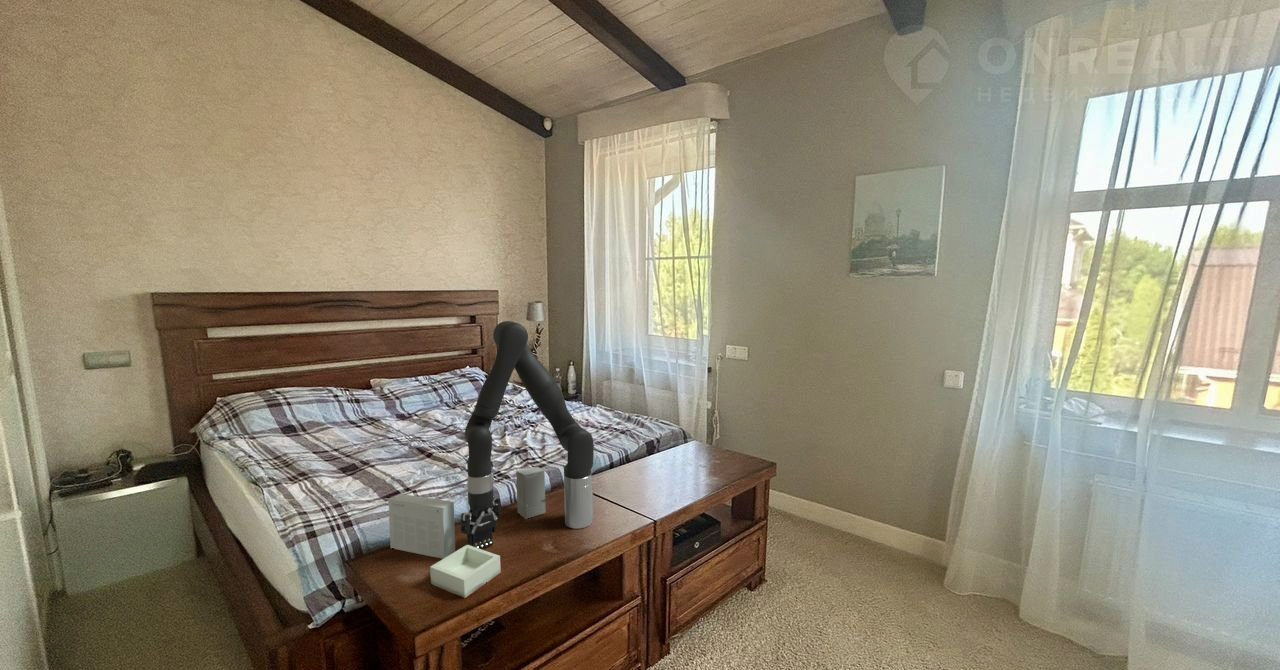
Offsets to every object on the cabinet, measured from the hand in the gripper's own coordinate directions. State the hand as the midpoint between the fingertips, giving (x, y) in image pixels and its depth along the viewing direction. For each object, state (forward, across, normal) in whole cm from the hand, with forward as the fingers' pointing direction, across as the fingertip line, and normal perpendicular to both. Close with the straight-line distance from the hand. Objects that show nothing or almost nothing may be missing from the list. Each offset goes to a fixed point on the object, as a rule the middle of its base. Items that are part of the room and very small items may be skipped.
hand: (482, 537), depth 156 cm
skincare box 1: (+4, -9, +16) cm, 19 cm away
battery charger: (+3, 0, 0) cm, 3 cm away
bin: (+3, -14, -8) cm, 16 cm away
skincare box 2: (+3, +25, +2) cm, 25 cm away
